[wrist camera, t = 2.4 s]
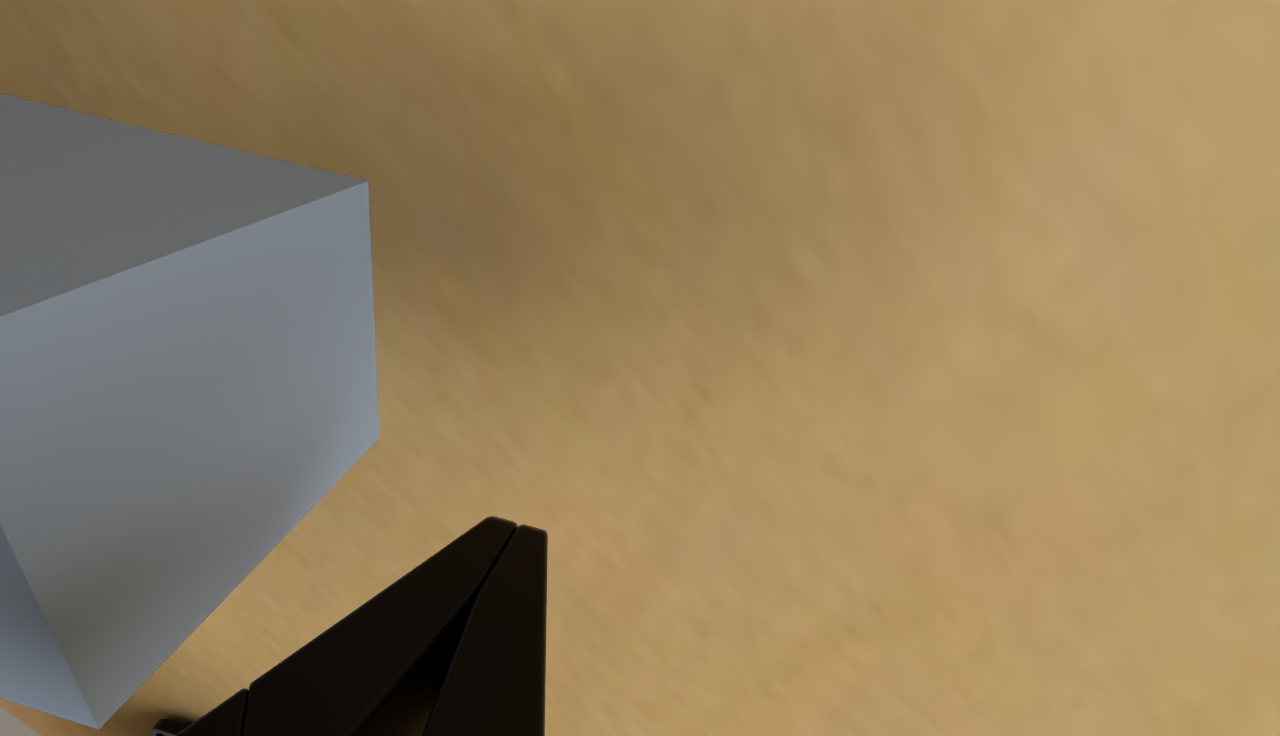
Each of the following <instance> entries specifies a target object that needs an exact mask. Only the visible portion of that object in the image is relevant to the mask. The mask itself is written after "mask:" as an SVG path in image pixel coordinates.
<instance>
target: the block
mask: <svg viewBox="0 0 1280 736" xmlns="http://www.w3.org/2000/svg"><path fill="white" fill-rule="evenodd" d="M379 439H380V435H379V413H378V390H377V368H376V345H375V323H374V300H373V278H372V256H371V233H370V211H369V188H368V181H366V180H362V179H357V178H353V177H349V176H345V175H341V174H337V173H332V172H328V171H324V170H320V169H316V168H311V167H307V166H303V165H299V164H295V163H290V162H286V161H282V160H278V159H274V158H270V157H265V156H261V155H257V154H253V153H249V152H244V151H240V150H236V149H232V148H228V147H224V146H219V145H215V144H211V143H207V142H203V141H198V140H194V139H190V138H186V137H182V136H178V135H173V134H169V133H165V132H161V131H157V130H152V129H148V128H144V127H140V126H136V125H131V124H127V123H123V122H119V121H115V120H111V119H106V118H102V117H98V116H94V115H90V114H85V113H81V112H77V111H73V110H69V109H65V108H60V107H56V106H52V105H48V104H44V103H39V102H35V101H31V100H27V99H23V98H18V97H14V96H10V95H6V94H2V93H0V698H1V699H4V700H7V701H10V702H14V703H17V704H20V705H23V706H26V707H29V708H32V709H35V710H39V711H42V712H45V713H48V714H51V715H54V716H57V717H61V718H64V719H67V720H70V721H73V722H76V723H79V724H83V725H86V726H89V727H92V728H95V729H98V730H99V729H100V728H101V727H102V726H103V725H104V724H105V723H106V722H107V721H108V720H109V719H110V718H111V717H112V716H113V715H114V713H115V712H116V711H117V710H118V709H119V708H120V707H121V706H122V705H123V704H124V703H125V702H126V701H127V700H128V699H129V698H130V697H131V696H132V695H133V694H134V693H135V692H136V691H137V690H138V689H139V688H140V686H141V685H142V684H143V683H144V682H145V681H146V680H147V679H148V678H149V677H150V676H151V675H152V674H153V673H154V672H155V671H156V670H157V669H158V668H159V667H160V666H161V665H162V664H163V663H164V662H165V661H166V660H167V658H168V657H169V656H170V655H171V654H172V653H173V652H174V651H175V650H176V649H177V648H178V647H179V646H180V645H181V644H182V643H183V642H184V641H185V640H186V639H187V638H188V637H189V636H190V635H191V634H192V633H193V631H194V630H195V629H196V628H197V627H198V626H199V625H200V624H201V623H202V622H203V621H204V620H205V619H206V618H207V617H208V616H209V615H210V614H211V613H212V612H213V611H214V610H215V609H216V608H217V607H218V606H219V605H220V603H221V602H222V601H223V600H224V599H225V598H226V597H227V596H228V595H229V594H230V593H231V592H232V591H233V590H234V589H235V588H236V587H237V586H238V585H239V584H240V583H241V582H242V581H243V580H244V579H245V578H246V577H247V575H248V574H249V573H250V572H251V571H252V570H253V569H254V568H255V567H256V566H257V565H258V564H259V563H260V562H261V561H262V560H263V559H264V558H265V557H266V556H267V555H268V554H269V553H270V552H271V551H272V550H273V548H274V547H275V546H276V545H277V544H278V543H279V542H280V541H281V540H282V539H283V538H284V537H285V536H286V535H287V534H288V533H289V532H290V531H291V530H292V529H293V528H294V527H295V526H296V525H297V524H298V523H299V522H300V520H301V519H302V518H303V517H304V516H305V515H306V514H307V513H308V512H309V511H310V510H311V509H312V508H313V507H314V506H315V505H316V504H317V503H318V502H319V501H320V500H321V499H322V498H323V497H324V496H325V495H326V494H327V492H328V491H329V490H330V489H331V488H332V487H333V486H334V485H335V484H336V483H337V482H338V481H339V480H340V479H341V478H342V477H343V476H344V475H345V474H346V473H347V472H348V471H349V470H350V469H351V468H352V467H353V465H354V464H355V463H356V462H357V461H358V460H359V459H360V458H361V457H362V456H363V455H364V454H365V453H366V452H367V451H368V450H369V449H370V448H371V447H372V446H373V445H374V444H375V443H376V442H377V441H378V440H379Z"/></svg>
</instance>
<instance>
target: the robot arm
mask: <svg viewBox="0 0 1280 736" xmlns="http://www.w3.org/2000/svg"><path fill="white" fill-rule="evenodd" d="M547 543H548V537H547V532H546V531H545V530H542V529H538V528H535V527H531V526H527V525H520V526H518V525H517V524H516V523H515V522H513V521H509V520H506V519H502V518H498V517H494V516H491V517H488V518H486V519H484V520H483V521H481V522H480V523H479V524H477V525H476V526H474V527H473V528H471V529H470V530H469V531H467V532H466V533H464V534H463V535H461V536H460V537H459V538H457V539H456V540H454V541H453V542H451V543H450V544H449V545H447V546H446V547H444V548H443V549H441V550H440V551H439V552H437V553H436V554H434V555H433V556H432V557H430V558H429V559H427V560H426V561H424V562H423V563H422V564H420V565H419V566H417V567H416V568H414V569H413V570H412V571H410V572H409V573H407V574H406V575H404V576H403V577H402V578H400V579H399V580H397V581H396V582H394V583H393V584H392V585H390V586H389V587H387V588H386V589H385V590H383V591H382V592H380V593H379V594H377V595H376V596H375V597H373V598H372V599H370V600H369V601H367V602H366V603H365V604H363V605H362V606H360V607H359V608H357V609H356V610H355V611H353V612H352V613H350V614H349V615H347V616H346V617H345V618H343V619H342V620H340V621H339V622H338V623H336V624H335V625H333V626H332V627H330V628H329V629H328V630H326V631H325V632H323V633H322V634H320V635H319V636H318V637H316V638H315V639H313V640H312V641H310V642H309V643H308V644H306V645H305V646H303V647H302V648H300V649H299V650H298V651H296V652H295V653H293V654H292V655H291V656H289V657H288V658H286V659H285V660H283V661H282V662H281V663H279V664H278V665H276V666H275V667H273V668H272V669H271V670H269V671H268V672H266V673H265V674H263V675H262V676H261V677H259V678H258V679H256V680H255V681H253V682H252V683H251V684H250V686H249V690H248V689H245V688H244V689H242V690H240V691H239V692H237V693H236V694H234V695H233V696H232V697H230V698H229V699H227V700H226V701H225V702H223V703H222V704H220V705H219V706H217V707H216V708H215V709H213V710H212V711H210V712H209V713H207V714H206V715H204V716H203V717H201V718H200V719H198V720H197V721H195V722H194V723H192V724H191V725H189V726H188V725H185V724H182V723H179V722H176V721H172V720H169V719H160V720H159V721H158V722H157V723H156V725H155V726H154V727H153V728H152V729H151V730H150V735H151V736H545V672H546V608H547Z"/></svg>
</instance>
